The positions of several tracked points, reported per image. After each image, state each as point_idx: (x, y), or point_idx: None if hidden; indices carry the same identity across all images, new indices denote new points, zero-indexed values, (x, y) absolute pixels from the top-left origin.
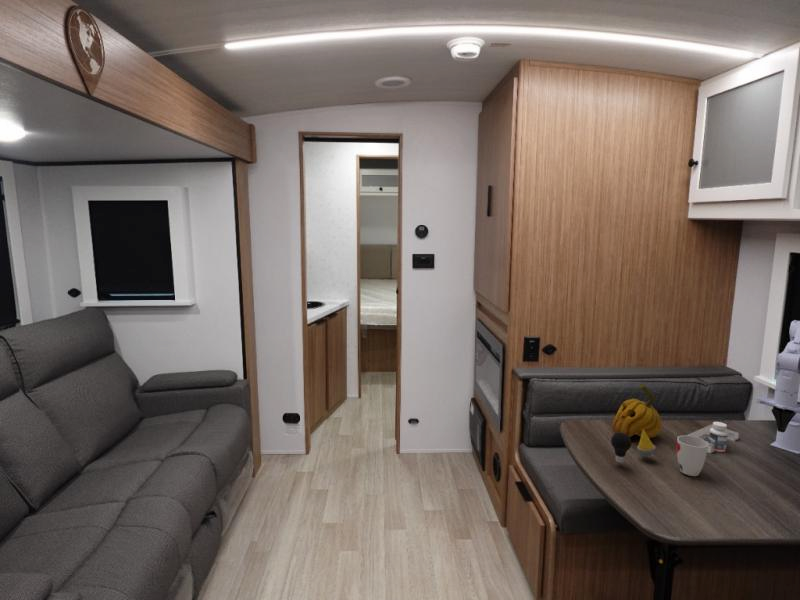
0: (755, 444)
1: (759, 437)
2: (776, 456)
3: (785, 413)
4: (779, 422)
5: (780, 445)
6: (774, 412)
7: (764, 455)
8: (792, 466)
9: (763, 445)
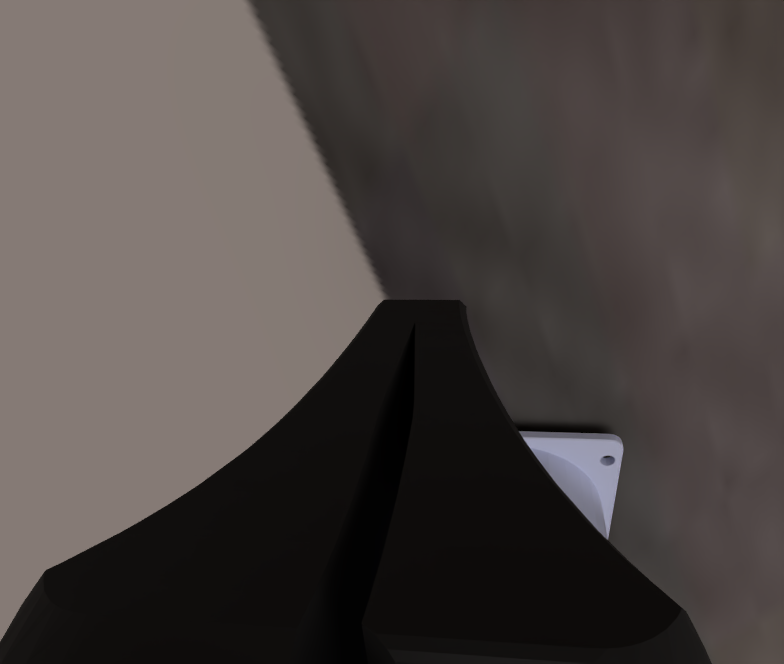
0: (733, 378)
1: (736, 532)
2: (509, 263)
3: (129, 655)
4: (425, 408)
5: (547, 458)
6: (576, 607)
7: (597, 187)
8: (324, 150)
9: (670, 409)
